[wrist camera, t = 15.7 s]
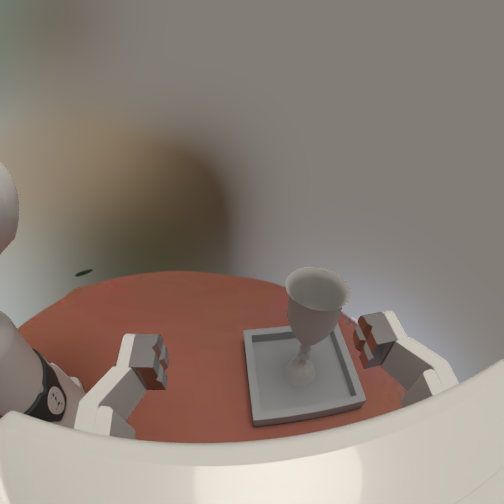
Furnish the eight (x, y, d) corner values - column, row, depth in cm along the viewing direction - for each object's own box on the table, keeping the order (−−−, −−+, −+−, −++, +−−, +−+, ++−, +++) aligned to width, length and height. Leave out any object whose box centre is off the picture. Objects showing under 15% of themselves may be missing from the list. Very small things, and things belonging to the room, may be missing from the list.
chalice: (267, 373, 39) (271, 288, 29) (293, 346, 43) (307, 259, 33) (305, 399, 35) (331, 321, 25) (330, 369, 39) (360, 284, 29)
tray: (253, 427, 33) (253, 420, 31) (244, 341, 46) (243, 330, 44) (360, 408, 34) (366, 400, 32) (333, 330, 47) (336, 319, 45)
